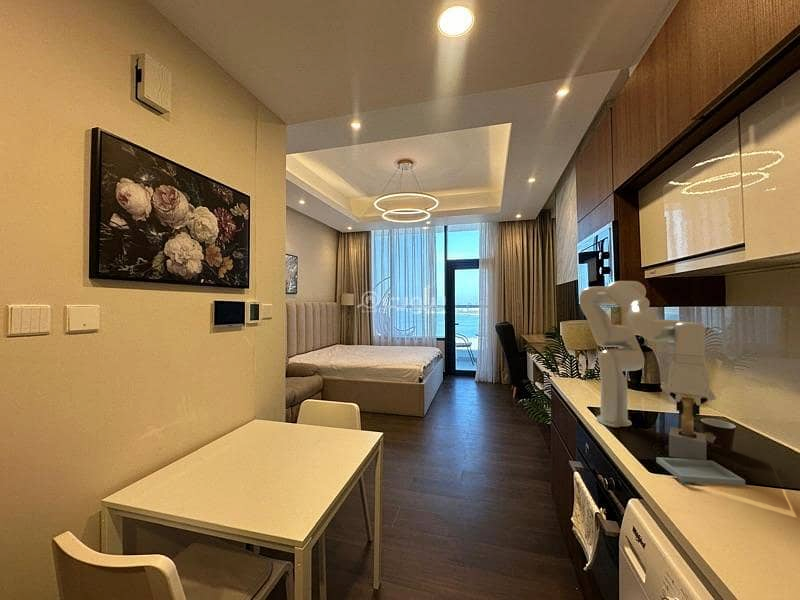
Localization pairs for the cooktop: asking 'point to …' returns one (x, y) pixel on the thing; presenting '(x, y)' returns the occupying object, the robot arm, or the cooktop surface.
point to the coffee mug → (718, 435)
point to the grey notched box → (687, 445)
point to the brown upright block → (687, 417)
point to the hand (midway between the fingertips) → (687, 414)
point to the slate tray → (699, 472)
